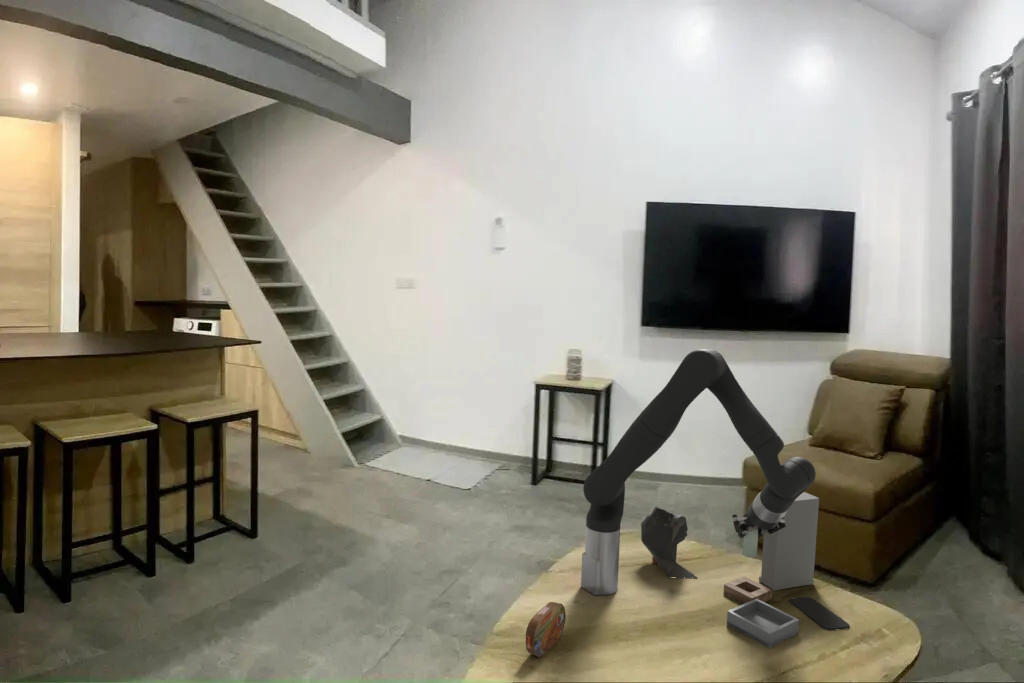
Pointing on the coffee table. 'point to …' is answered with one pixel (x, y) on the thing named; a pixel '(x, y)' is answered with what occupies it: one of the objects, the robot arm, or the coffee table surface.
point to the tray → (763, 622)
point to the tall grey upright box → (792, 547)
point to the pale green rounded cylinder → (750, 543)
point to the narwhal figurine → (665, 540)
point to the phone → (818, 613)
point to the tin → (545, 628)
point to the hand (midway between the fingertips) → (748, 535)
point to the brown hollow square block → (740, 585)
